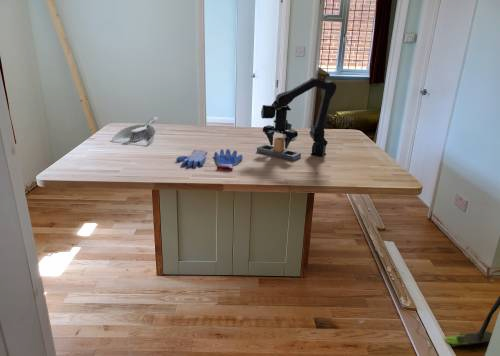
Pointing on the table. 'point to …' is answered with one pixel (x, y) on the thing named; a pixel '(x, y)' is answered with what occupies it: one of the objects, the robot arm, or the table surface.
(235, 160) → the pair of gloves
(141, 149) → the table surface
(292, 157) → the rail
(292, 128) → the wall hook
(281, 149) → the orange peg
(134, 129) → the dustpan and brush
